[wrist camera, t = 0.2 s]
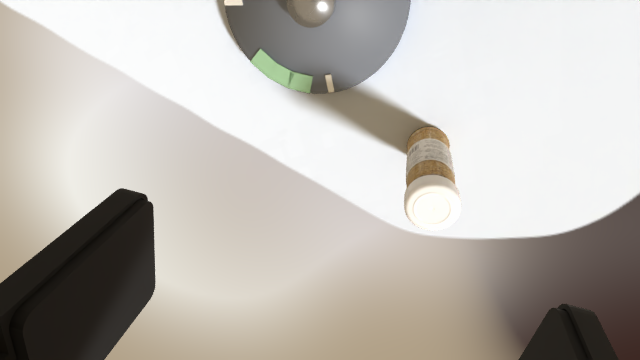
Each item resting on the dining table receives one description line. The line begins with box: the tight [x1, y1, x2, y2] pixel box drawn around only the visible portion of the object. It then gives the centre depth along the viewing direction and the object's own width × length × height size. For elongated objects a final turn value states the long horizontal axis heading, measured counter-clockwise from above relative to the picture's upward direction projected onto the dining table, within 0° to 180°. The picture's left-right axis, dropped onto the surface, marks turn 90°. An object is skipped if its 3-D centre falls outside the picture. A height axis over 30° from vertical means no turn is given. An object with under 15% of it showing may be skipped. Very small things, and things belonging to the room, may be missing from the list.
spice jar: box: [404, 127, 461, 230], centre depth 41 cm, size 5×5×14 cm
